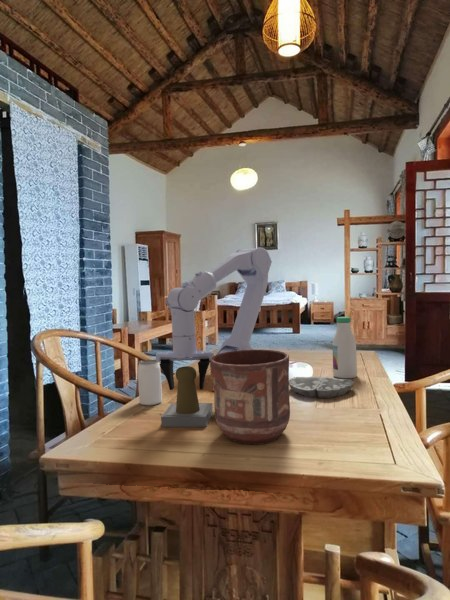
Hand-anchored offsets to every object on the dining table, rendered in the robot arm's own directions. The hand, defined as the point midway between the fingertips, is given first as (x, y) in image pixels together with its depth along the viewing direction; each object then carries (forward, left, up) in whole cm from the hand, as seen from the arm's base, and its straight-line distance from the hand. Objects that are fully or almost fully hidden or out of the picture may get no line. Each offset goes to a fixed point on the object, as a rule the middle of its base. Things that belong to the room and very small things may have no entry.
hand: (186, 388), depth 115 cm
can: (+14, -15, -8) cm, 22 cm away
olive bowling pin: (0, +1, -6) cm, 6 cm away
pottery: (-17, +11, -8) cm, 22 cm away
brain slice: (-35, -24, -8) cm, 43 cm away
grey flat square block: (0, 0, -8) cm, 8 cm away
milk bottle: (-45, -43, -8) cm, 63 cm away
